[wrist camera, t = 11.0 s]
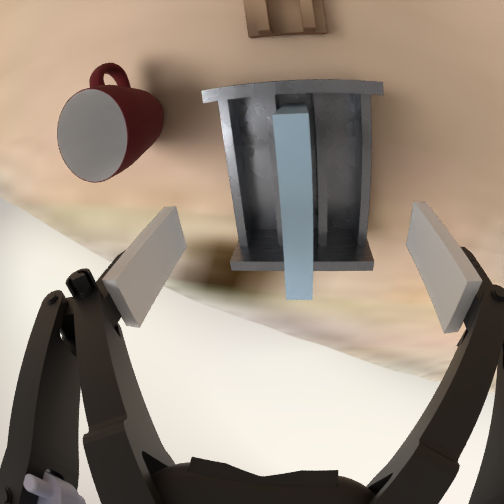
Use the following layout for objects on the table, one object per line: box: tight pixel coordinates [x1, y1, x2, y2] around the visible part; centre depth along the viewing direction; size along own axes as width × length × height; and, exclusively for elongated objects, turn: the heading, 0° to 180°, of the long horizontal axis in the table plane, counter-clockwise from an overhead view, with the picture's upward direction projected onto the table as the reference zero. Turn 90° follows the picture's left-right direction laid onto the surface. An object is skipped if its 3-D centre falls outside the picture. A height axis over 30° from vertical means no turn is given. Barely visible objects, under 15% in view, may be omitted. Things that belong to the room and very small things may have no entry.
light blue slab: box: [272, 103, 313, 300], centre depth 21 cm, size 12×2×12 cm, turn 7°
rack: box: [201, 79, 384, 271], centre depth 24 cm, size 16×13×7 cm
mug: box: [57, 63, 164, 183], centre depth 21 cm, size 10×8×10 cm
